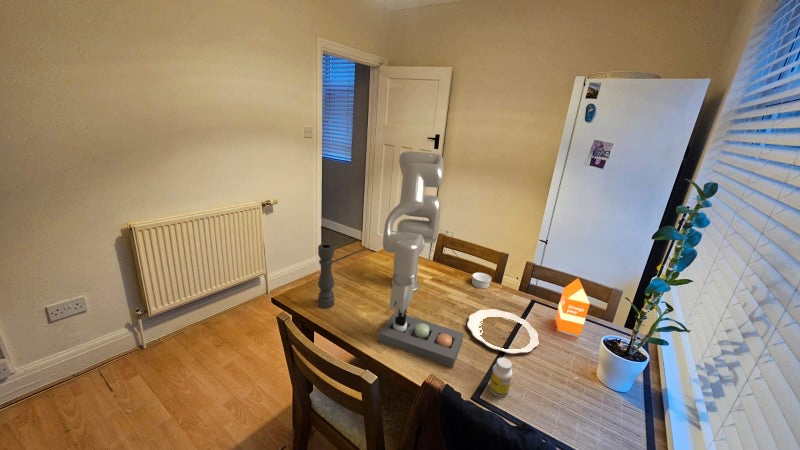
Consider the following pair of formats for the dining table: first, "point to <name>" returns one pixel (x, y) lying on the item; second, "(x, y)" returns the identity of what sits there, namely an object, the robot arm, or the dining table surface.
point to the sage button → (422, 331)
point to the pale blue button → (400, 327)
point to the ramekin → (481, 280)
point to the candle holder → (326, 276)
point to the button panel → (422, 341)
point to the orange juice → (572, 308)
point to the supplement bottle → (501, 377)
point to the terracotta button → (444, 340)
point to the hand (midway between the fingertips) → (400, 323)
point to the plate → (482, 314)
